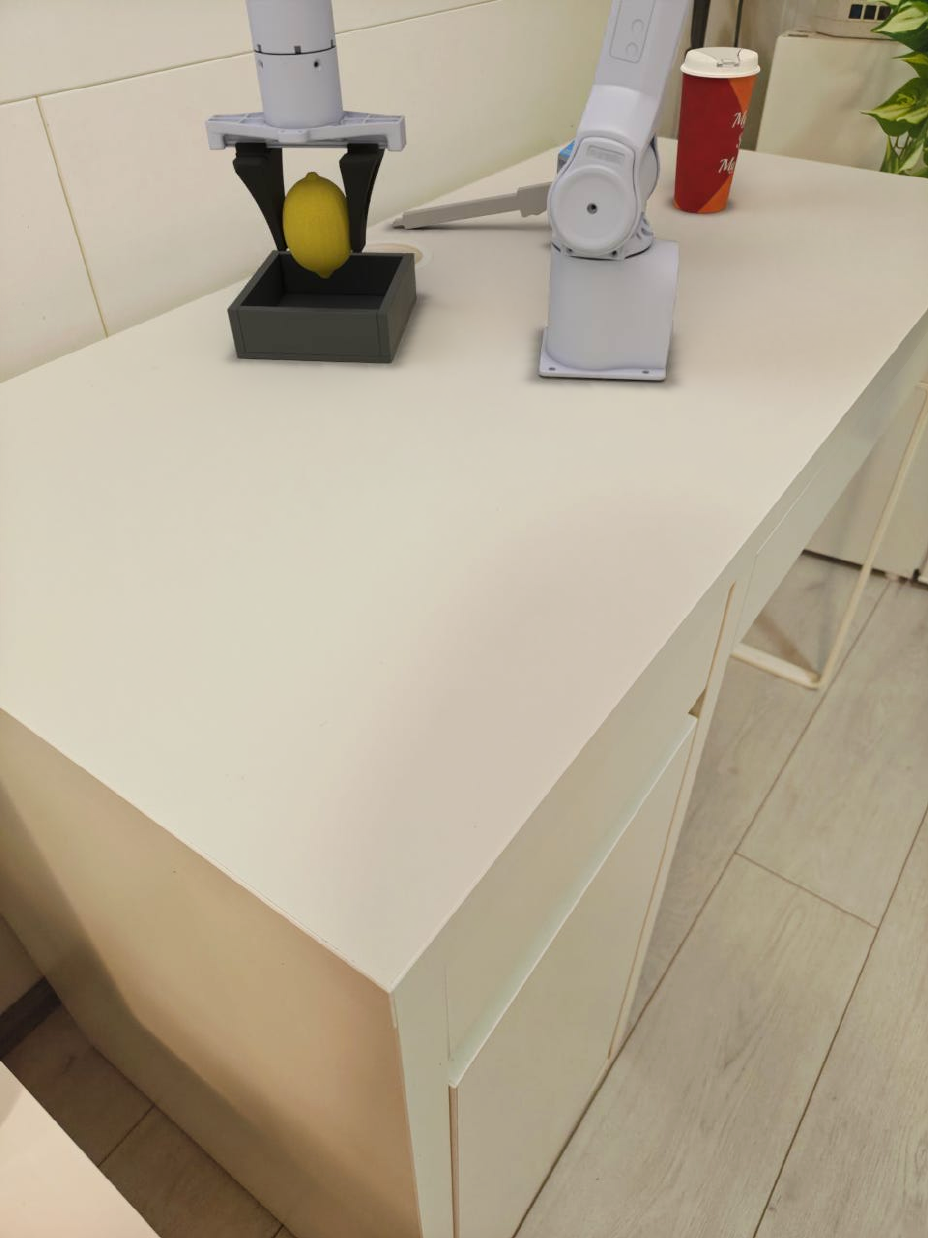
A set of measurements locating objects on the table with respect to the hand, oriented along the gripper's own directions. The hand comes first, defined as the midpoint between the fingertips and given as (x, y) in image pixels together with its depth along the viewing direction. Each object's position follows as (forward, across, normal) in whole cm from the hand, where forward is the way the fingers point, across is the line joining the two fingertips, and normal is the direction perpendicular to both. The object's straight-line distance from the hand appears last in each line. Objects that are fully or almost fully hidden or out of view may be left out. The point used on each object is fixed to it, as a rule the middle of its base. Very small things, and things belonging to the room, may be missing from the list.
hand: (321, 247), depth 70 cm
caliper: (+7, +11, +24) cm, 27 cm away
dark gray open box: (+6, 0, 0) cm, 6 cm away
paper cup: (+7, +33, +33) cm, 47 cm away
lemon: (+3, 0, 0) cm, 3 cm away
